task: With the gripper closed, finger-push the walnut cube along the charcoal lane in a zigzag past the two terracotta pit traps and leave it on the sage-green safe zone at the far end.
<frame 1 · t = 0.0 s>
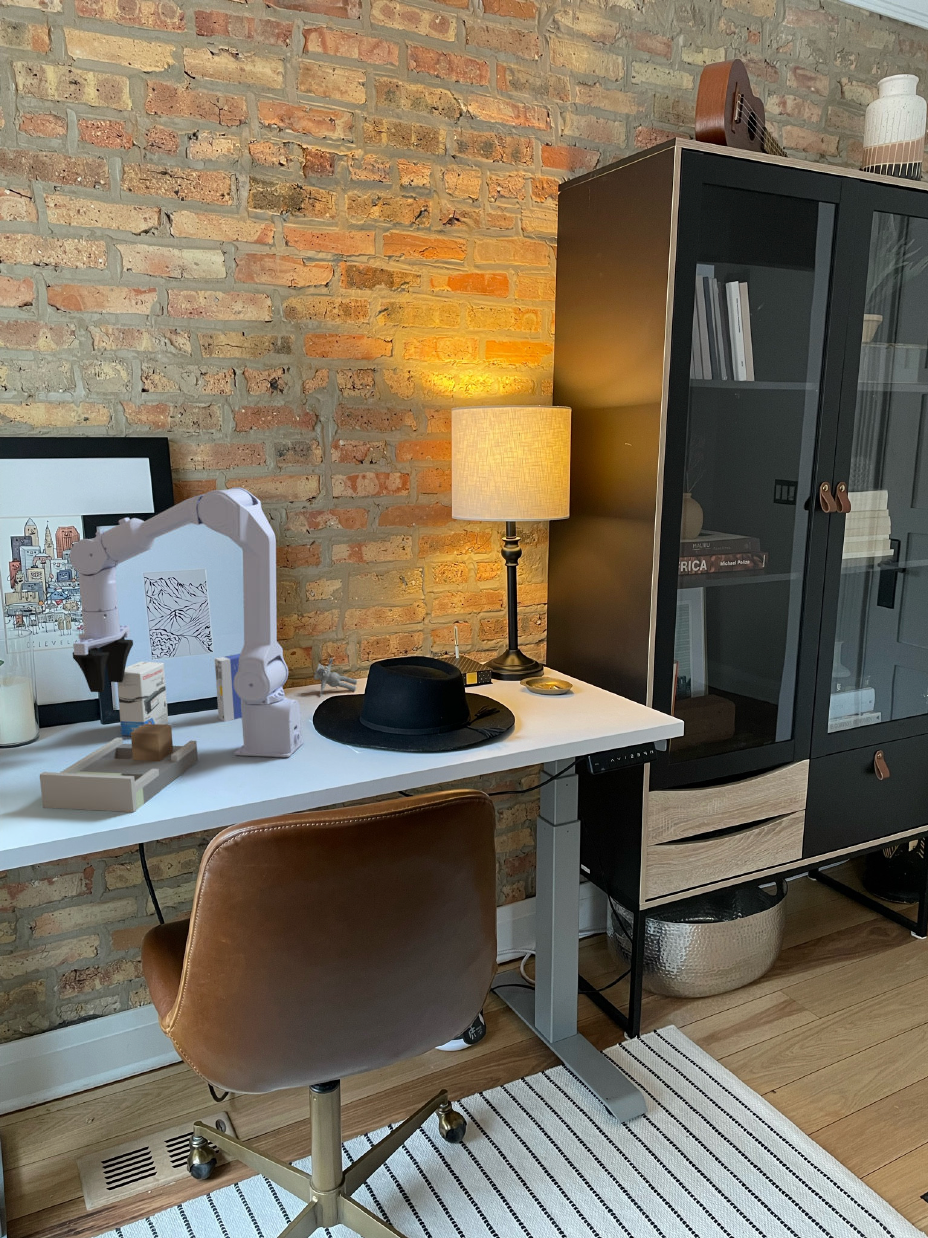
hand: (107, 686, 159), 10 cm above the table, fingers open, 6 cm apart
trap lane: (127, 781, 143), on the table
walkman: (240, 716, 176), on the table
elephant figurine: (334, 692, 192), on the table
walnut block: (153, 755, 147), point 2 cm above the table, touching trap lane
ink box: (145, 730, 168), on the table, touching gripper
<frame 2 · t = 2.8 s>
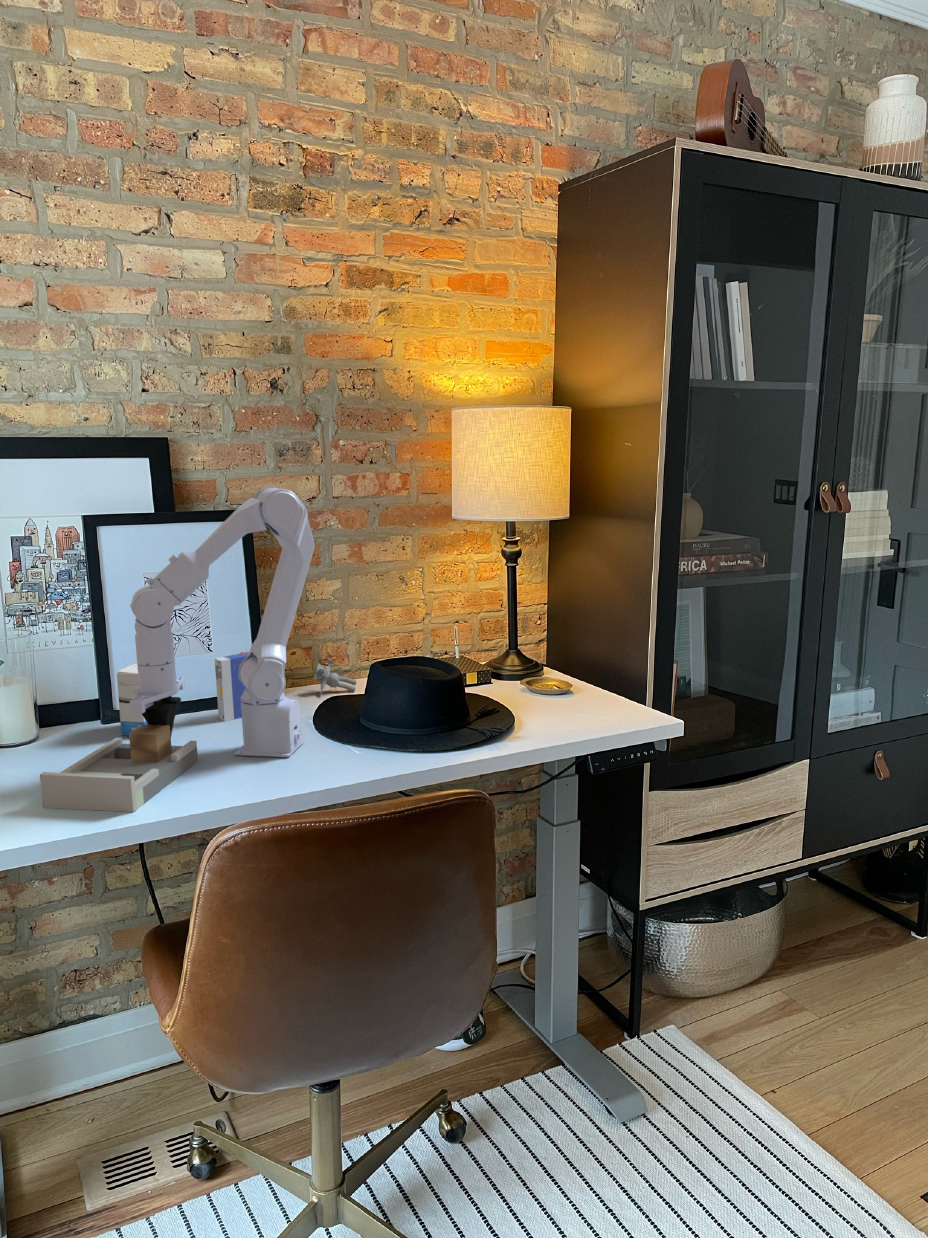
hand: (162, 743, 150), 3 cm above the table, fingers closed
walnut block: (151, 756, 146), point 3 cm above the table, touching gripper
ink box: (145, 730, 168), on the table
everything else where it was.
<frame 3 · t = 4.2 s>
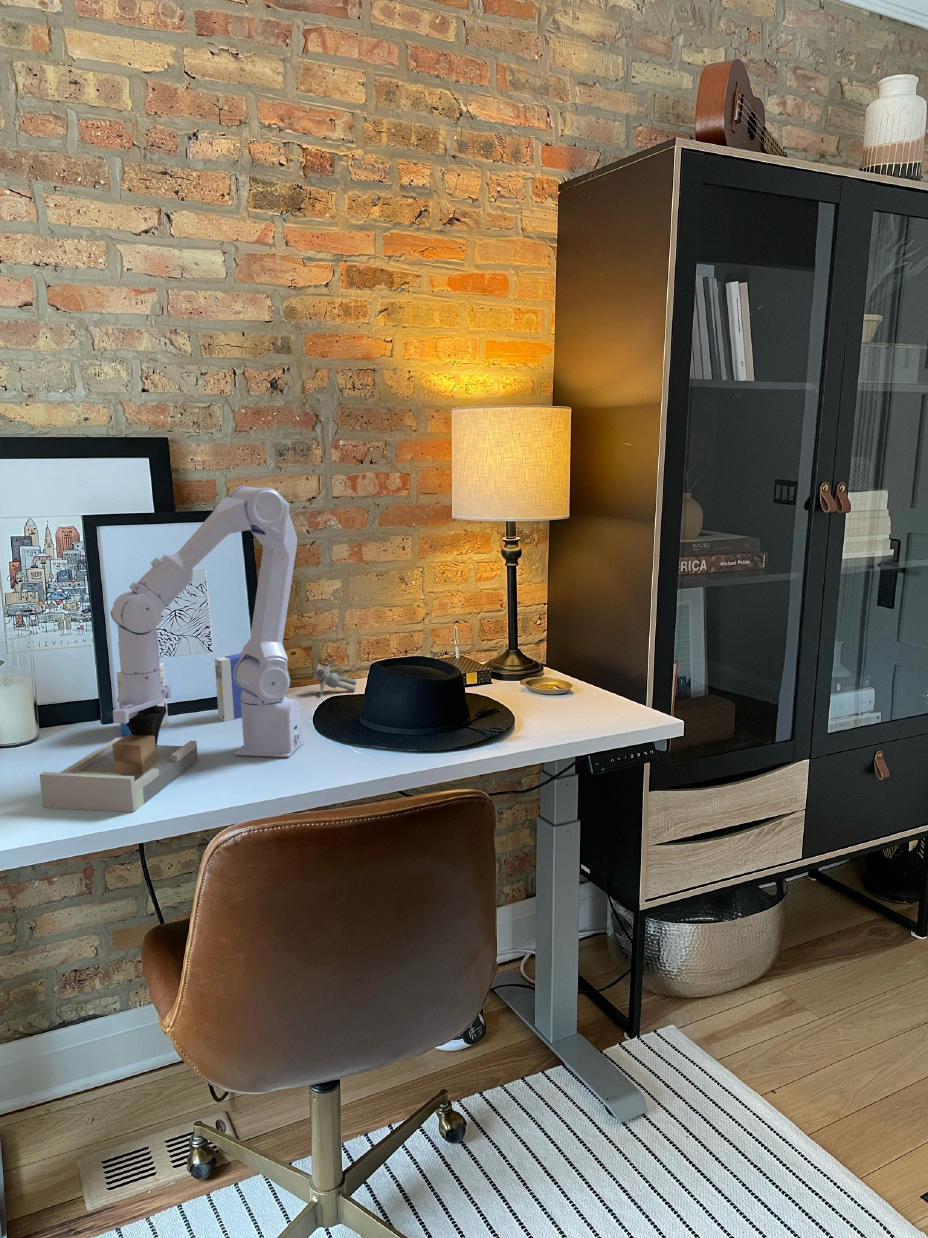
hand: (147, 754, 145), 3 cm above the table, fingers closed
walnut block: (136, 768, 141), point 2 cm above the table, touching gripper, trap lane
everything else where it was.
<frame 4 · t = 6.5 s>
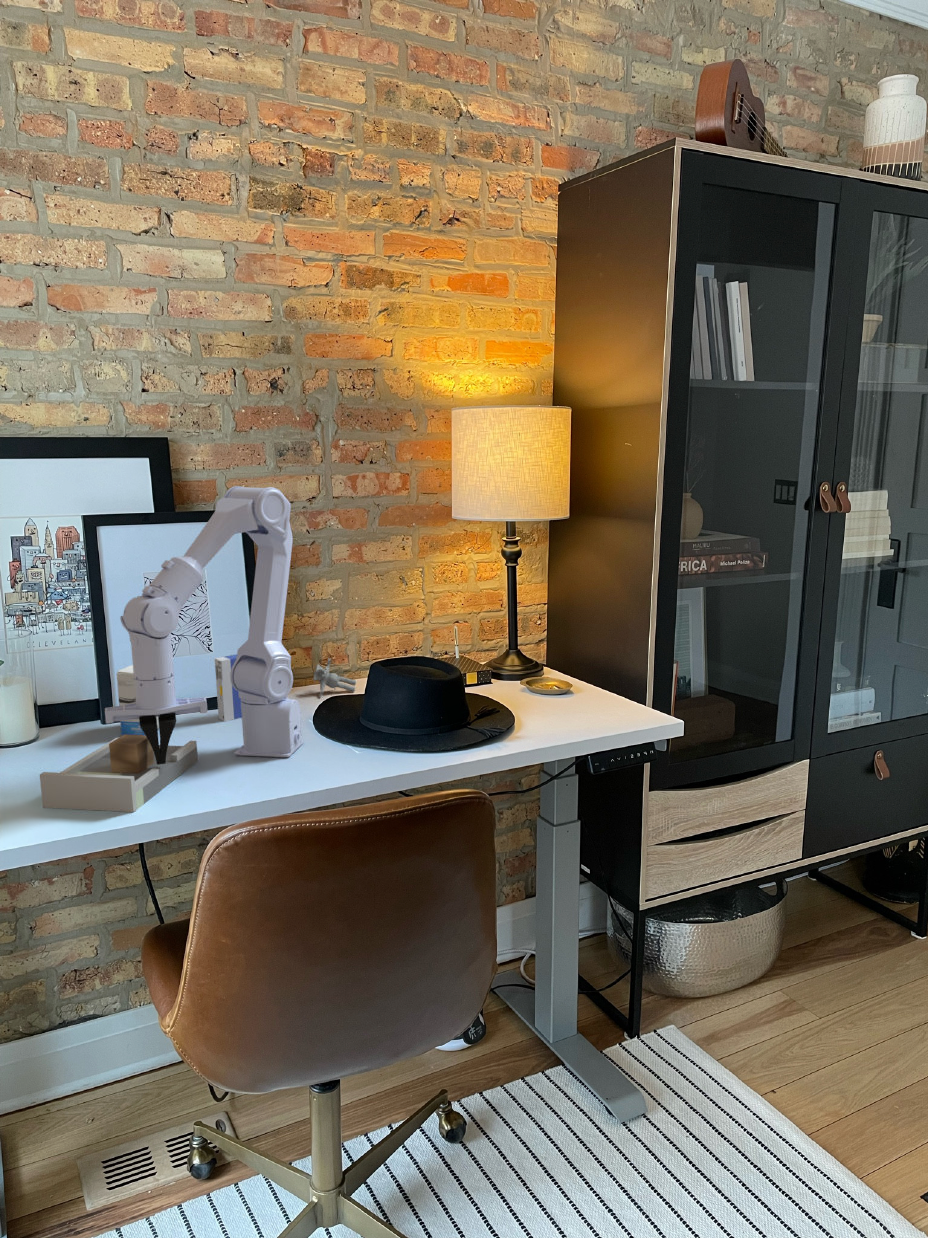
hand: (161, 762, 141), 3 cm above the table, fingers closed
nothing on the table moved.
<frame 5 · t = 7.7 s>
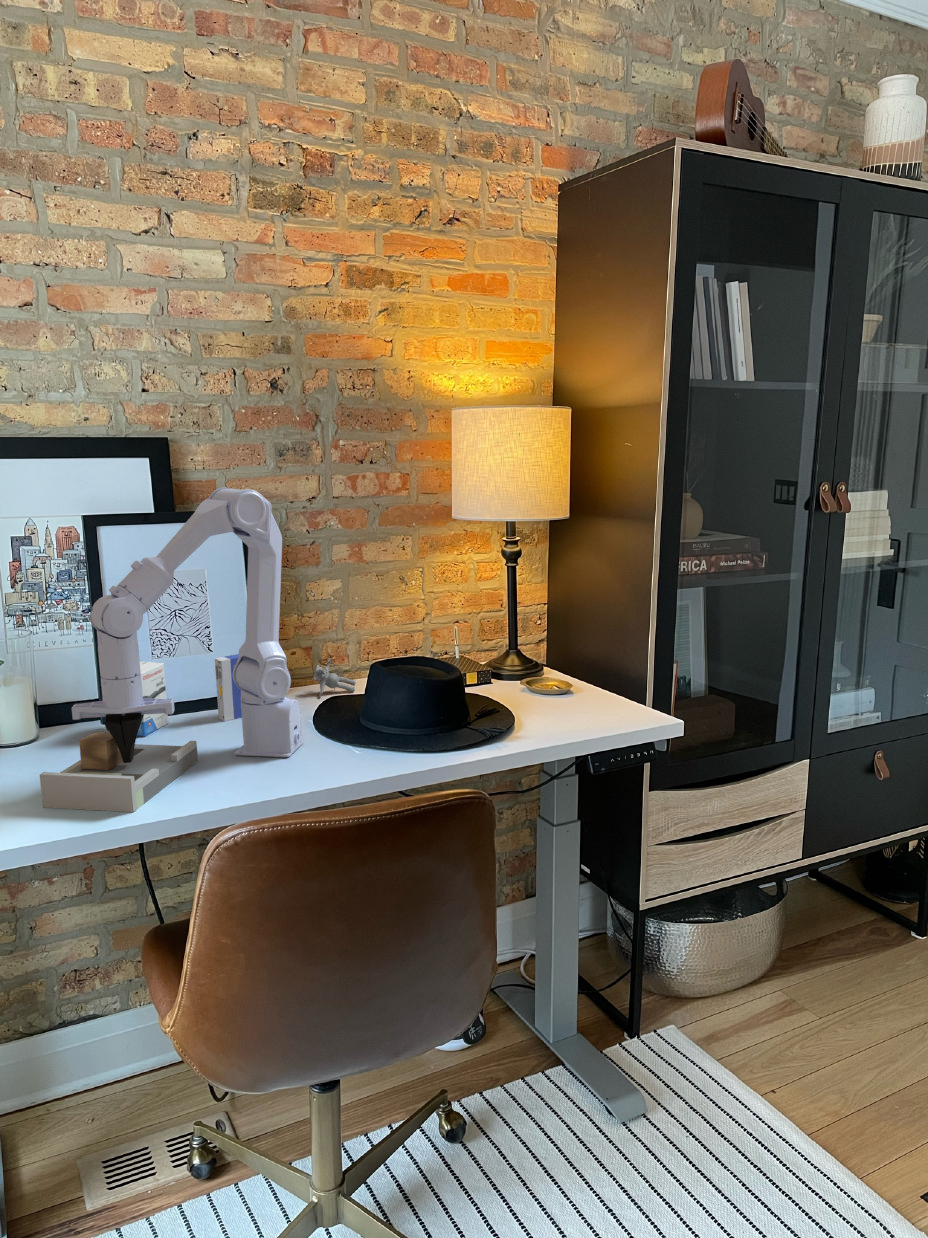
hand: (128, 760, 142), 3 cm above the table, fingers closed
walnut block: (103, 764, 142), point 3 cm above the table, touching gripper, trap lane
everything else where it was.
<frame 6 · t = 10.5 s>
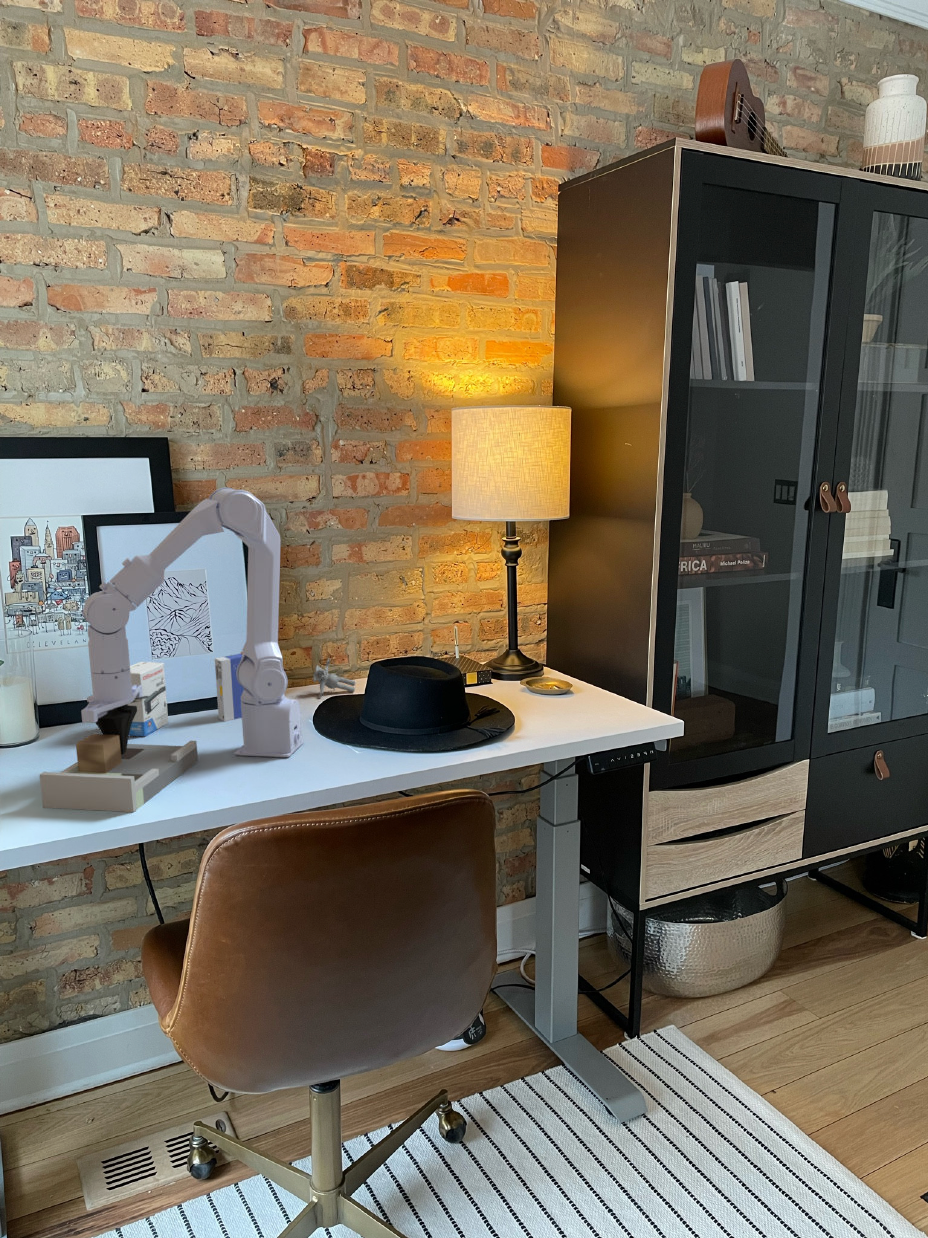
hand: (118, 753, 145), 3 cm above the table, fingers closed
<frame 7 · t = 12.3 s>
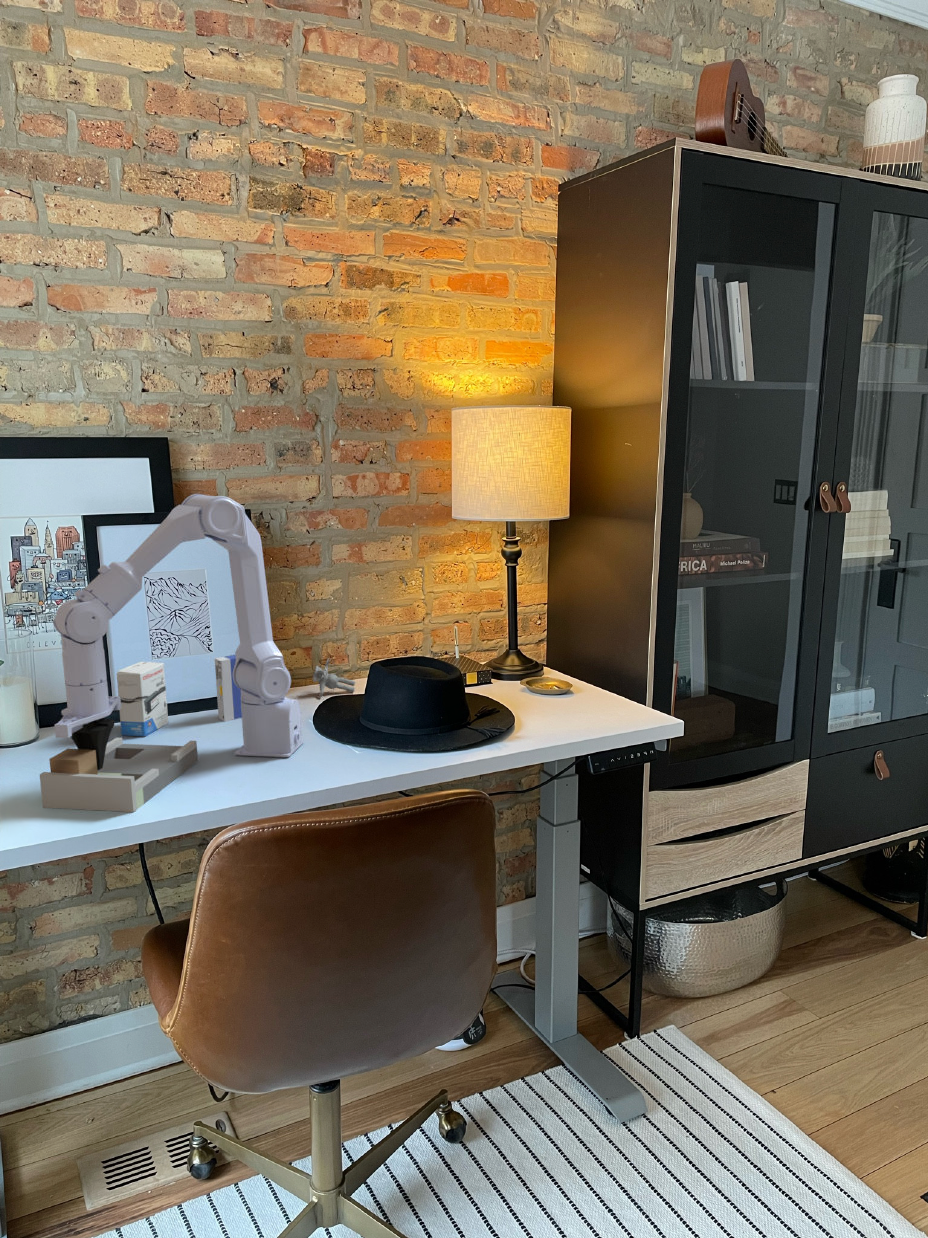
hand: (94, 769, 138), 3 cm above the table, fingers closed
walnut block: (75, 783, 135), point 3 cm above the table, touching gripper, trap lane
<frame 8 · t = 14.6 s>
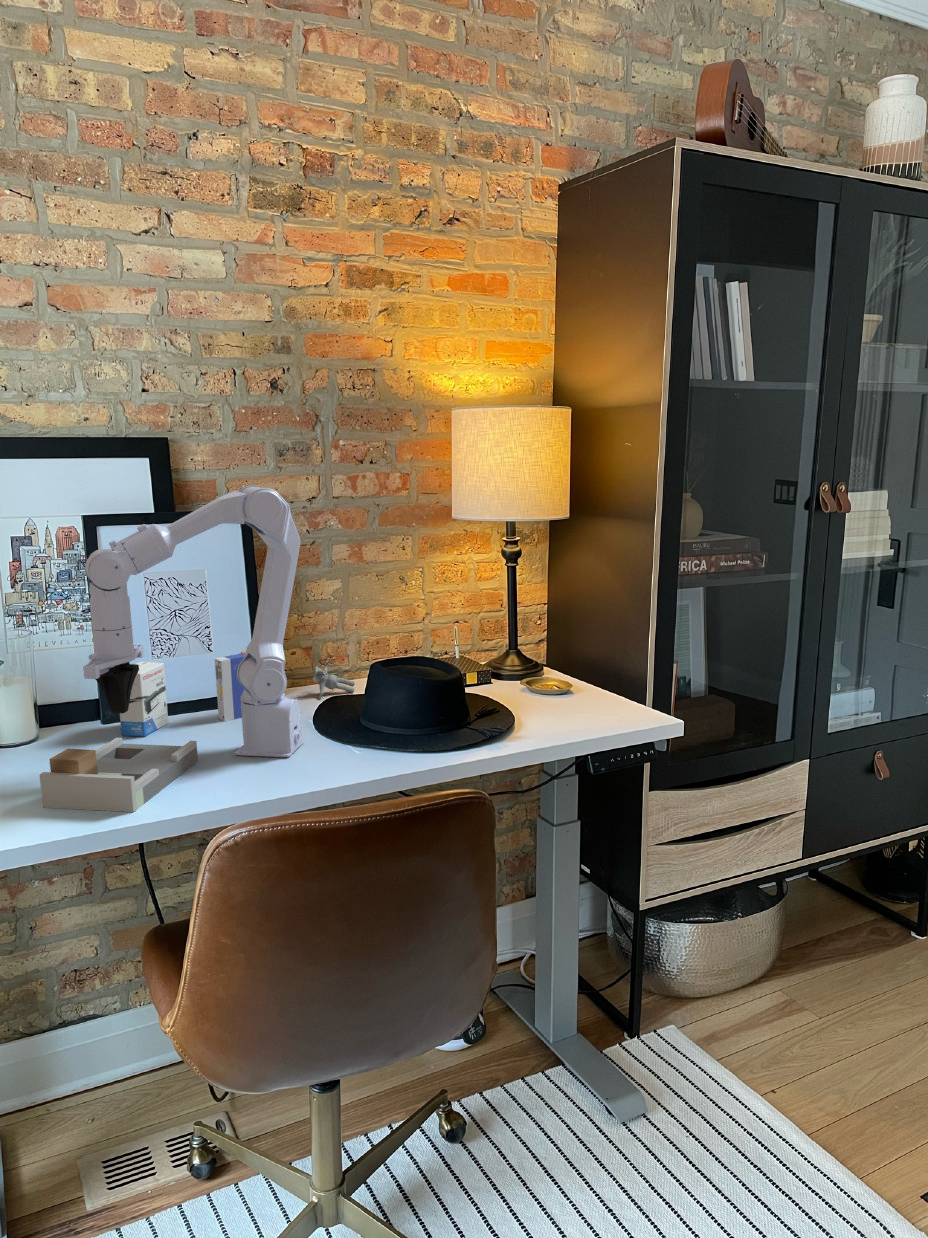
hand: (119, 712, 145), 10 cm above the table, fingers closed
walnut block: (75, 783, 135), point 2 cm above the table, touching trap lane
at the end: walnut block 1.0 cm from the target spot on the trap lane, point 2.5 cm above the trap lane's base; walnut block tilted 0° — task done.
